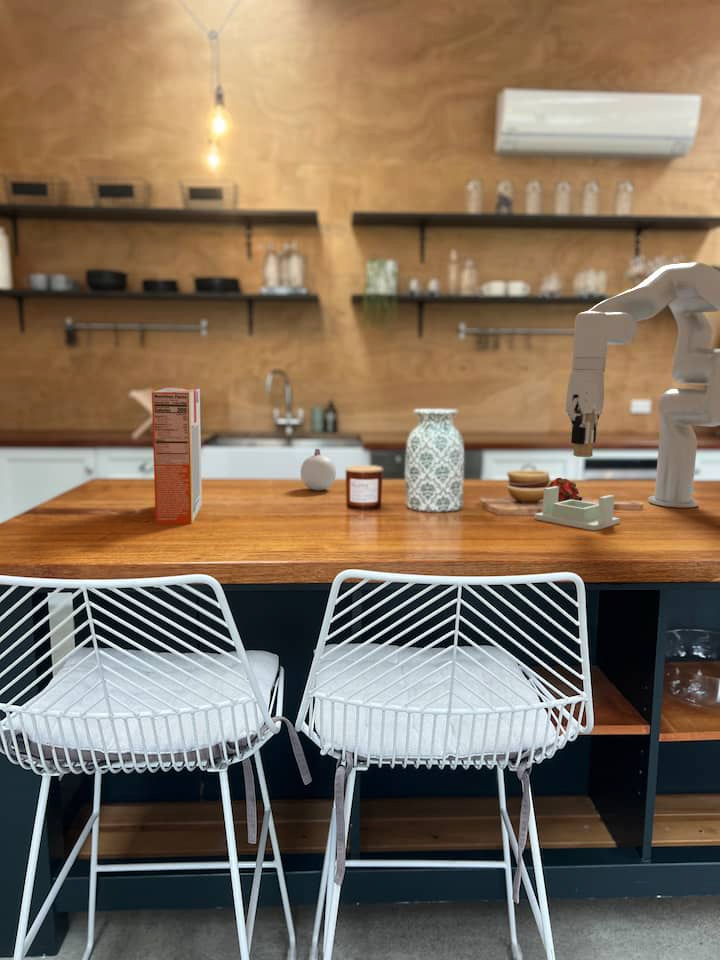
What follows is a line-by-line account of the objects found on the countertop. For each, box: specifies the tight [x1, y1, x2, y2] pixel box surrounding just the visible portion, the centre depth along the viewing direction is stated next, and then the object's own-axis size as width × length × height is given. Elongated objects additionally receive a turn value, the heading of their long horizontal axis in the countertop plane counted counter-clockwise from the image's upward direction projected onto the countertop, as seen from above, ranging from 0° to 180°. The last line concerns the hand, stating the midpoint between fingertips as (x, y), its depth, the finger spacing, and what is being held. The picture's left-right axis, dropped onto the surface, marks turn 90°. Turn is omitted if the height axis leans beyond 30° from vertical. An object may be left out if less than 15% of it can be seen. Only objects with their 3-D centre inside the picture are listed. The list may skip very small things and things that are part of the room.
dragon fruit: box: [546, 477, 583, 502], centre depth 192 cm, size 8×8×12 cm
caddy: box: [534, 486, 620, 532], centre depth 176 cm, size 12×16×7 cm
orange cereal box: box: [151, 387, 203, 525], centre depth 175 cm, size 23×8×30 cm, turn 6°
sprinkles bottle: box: [572, 404, 596, 458], centre depth 173 cm, size 5×5×14 cm
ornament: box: [300, 448, 337, 491], centre depth 211 cm, size 10×10×12 cm
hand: (583, 442), depth 173 cm, fingers closed on sprinkles bottle, 4 cm apart
